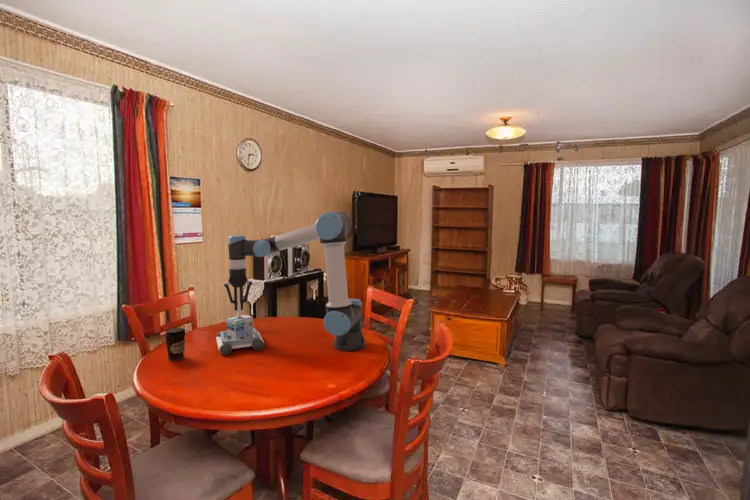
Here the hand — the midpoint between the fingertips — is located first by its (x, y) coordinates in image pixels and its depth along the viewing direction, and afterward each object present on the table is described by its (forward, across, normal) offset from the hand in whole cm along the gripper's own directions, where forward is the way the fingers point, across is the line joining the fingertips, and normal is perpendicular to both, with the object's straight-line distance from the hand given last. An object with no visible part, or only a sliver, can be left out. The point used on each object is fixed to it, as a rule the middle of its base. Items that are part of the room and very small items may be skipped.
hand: (239, 316), depth 186 cm
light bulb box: (+11, 0, 0) cm, 11 cm away
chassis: (+14, 0, 0) cm, 14 cm away
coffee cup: (+14, +27, +6) cm, 31 cm away
